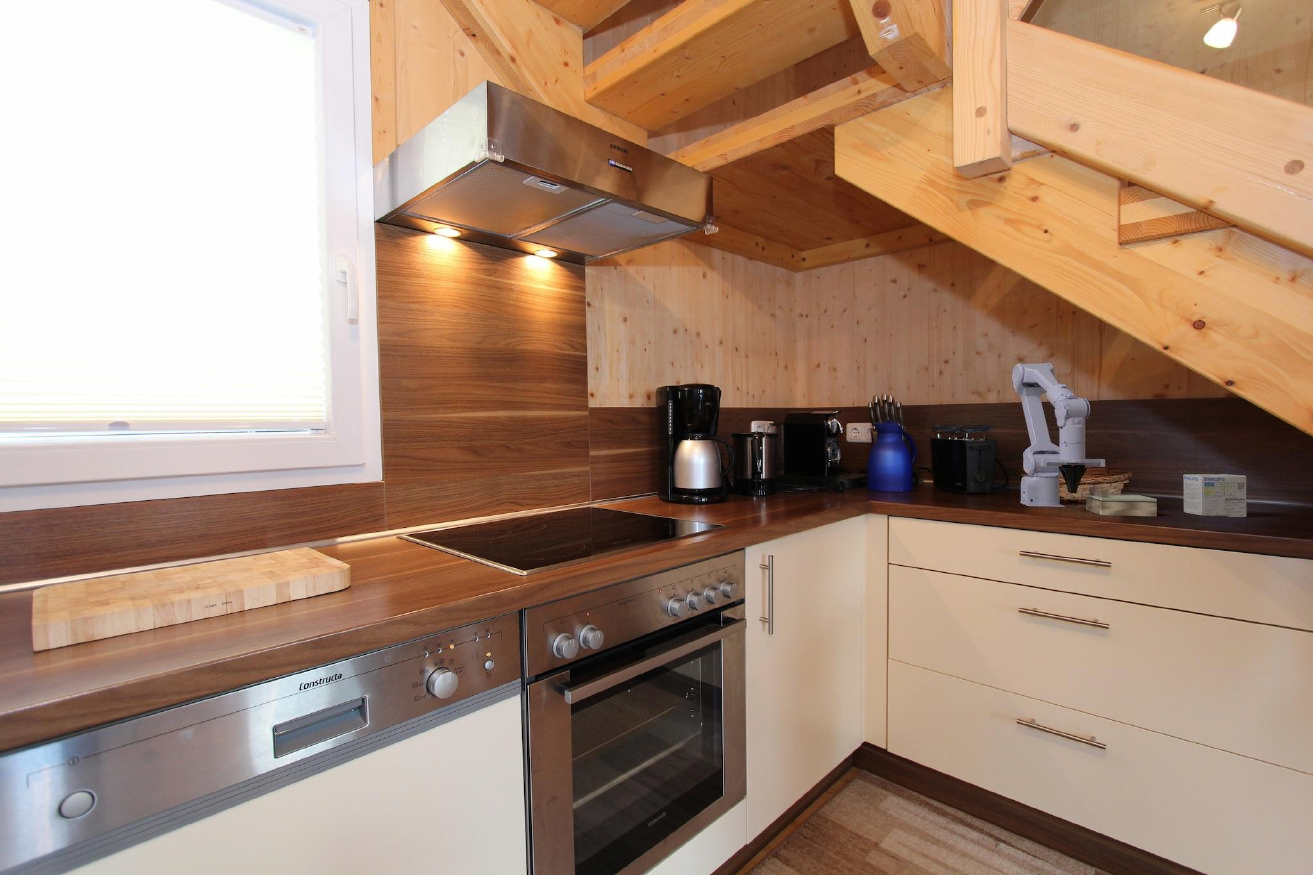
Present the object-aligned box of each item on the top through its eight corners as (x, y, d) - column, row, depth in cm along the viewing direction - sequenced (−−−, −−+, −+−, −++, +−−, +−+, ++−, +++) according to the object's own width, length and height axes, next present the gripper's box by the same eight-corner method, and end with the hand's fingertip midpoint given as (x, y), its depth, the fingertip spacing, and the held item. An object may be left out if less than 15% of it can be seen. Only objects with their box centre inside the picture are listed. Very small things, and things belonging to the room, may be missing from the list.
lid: (1101, 500, 154) (1101, 490, 154) (1086, 496, 164) (1085, 486, 164) (1156, 501, 151) (1156, 491, 151) (1137, 496, 161) (1137, 487, 161)
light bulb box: (1225, 513, 157) (1225, 473, 157) (1248, 517, 150) (1248, 475, 150) (1181, 513, 158) (1181, 473, 158) (1202, 517, 151) (1202, 475, 151)
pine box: (1101, 516, 155) (1101, 501, 154) (1086, 511, 164) (1086, 497, 164) (1156, 518, 151) (1156, 502, 151) (1137, 512, 161) (1137, 498, 161)
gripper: (1046, 443, 159) (1046, 494, 159) (1110, 443, 155) (1110, 495, 155) (1037, 442, 165) (1038, 491, 166) (1098, 442, 161) (1098, 492, 161)
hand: (1072, 493), depth 161 cm, fingers closed
